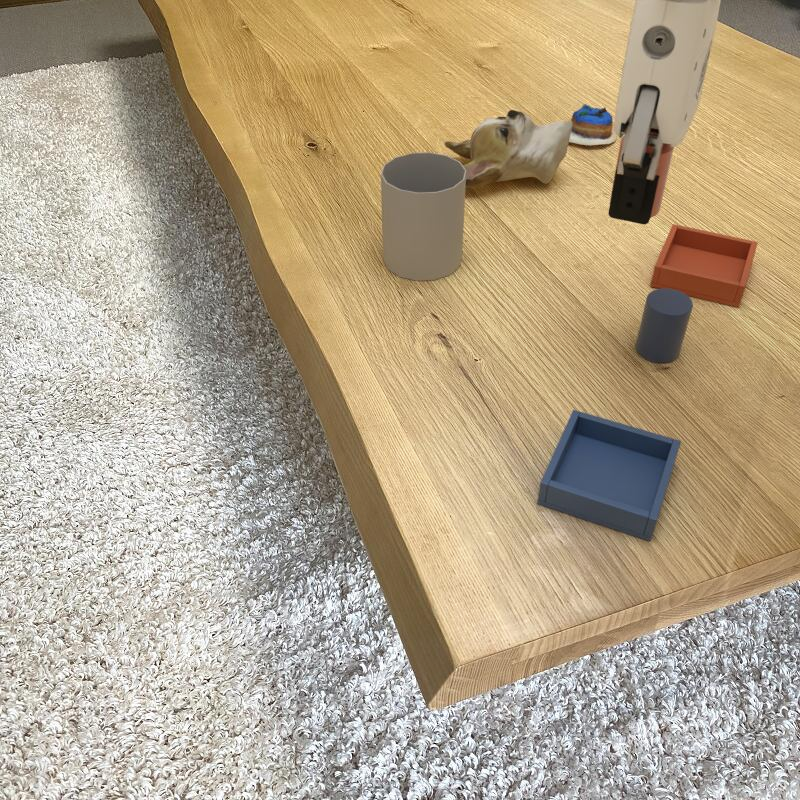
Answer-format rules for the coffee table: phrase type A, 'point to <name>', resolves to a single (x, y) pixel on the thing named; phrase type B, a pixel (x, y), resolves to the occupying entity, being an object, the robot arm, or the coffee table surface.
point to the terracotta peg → (661, 171)
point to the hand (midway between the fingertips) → (635, 203)
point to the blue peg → (663, 325)
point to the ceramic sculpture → (513, 149)
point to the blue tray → (609, 474)
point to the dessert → (592, 126)
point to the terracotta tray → (704, 265)
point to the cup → (423, 215)
